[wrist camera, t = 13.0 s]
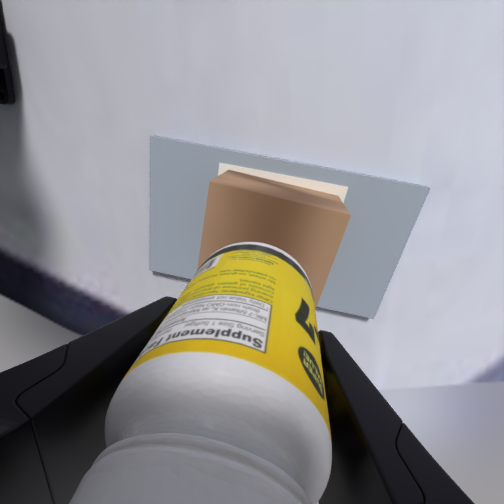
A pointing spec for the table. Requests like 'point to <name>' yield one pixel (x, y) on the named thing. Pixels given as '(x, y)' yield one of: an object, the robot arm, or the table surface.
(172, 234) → the board
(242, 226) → the block
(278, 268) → the supplement bottle
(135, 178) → the table surface
